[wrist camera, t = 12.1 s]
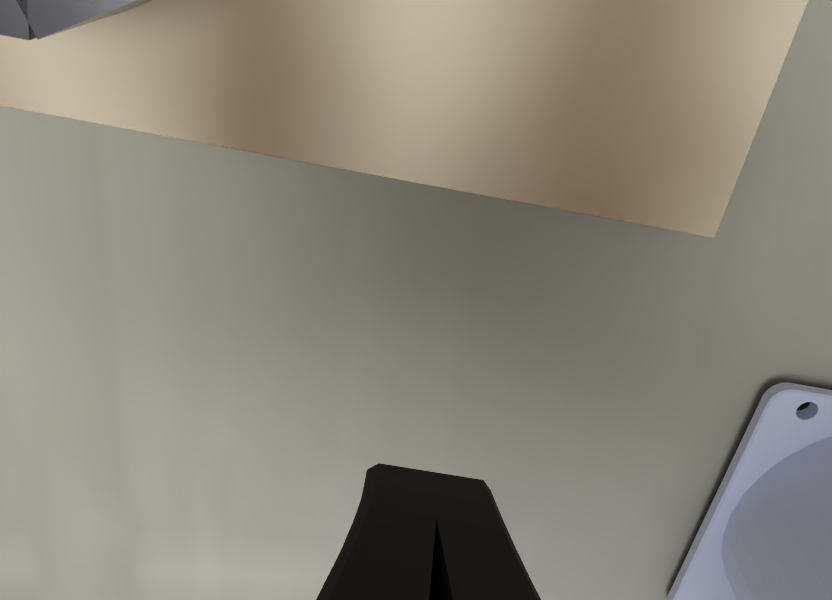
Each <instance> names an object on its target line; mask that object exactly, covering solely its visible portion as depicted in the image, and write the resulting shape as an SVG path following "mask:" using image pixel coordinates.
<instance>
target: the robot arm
mask: <svg viewBox="0 0 832 600" xmlns="http://www.w3.org/2000/svg"><path fill="white" fill-rule="evenodd" d="M805 402H811V403H810V404H809V406H808V407H807V408H805V409H803V410H797V408H798V407H799V406H800V405H801V404H803V403H805ZM316 600H541V599H540V597H539V595H538V593H537V591H536V589H535V587H534V585H533V583H532V581H531V579H530V577H529V575H528V573H527V571H526V569H525V567H524V565H523V563H522V561H521V558H520V556H519V554H518V552H517V550H516V548H515V546H514V544H513V541H512V539H511V537H510V535H509V533H508V530H507V528H506V526H505V524H504V521H503V519H502V517H501V514H500V512H499V510H498V507H497V505H496V503H495V500H494V498H493V495H492V493H491V490H490V489H489V487H488V486H487V485H486V483H485V482H484V480H479V479H472V478H466V477H460V476H454V475H447V474H441V473H435V472H429V471H423V470H416V469H410V468H404V467H398V466H391V465H385V464H377V465H375V466H373V467H371V468H370V469H368V470H367V473H366V478H365V483H364V488H363V493H362V498H361V501H360V504H359V507H358V510H357V513H356V516H355V518H354V521H353V524H352V526H351V528H350V531H349V533H348V535H347V538H346V540H345V542H344V545H343V547H342V549H341V552H340V554H339V556H338V558H337V560H336V562H335V564H334V566H333V567H332V569H331V571H330V573H329V575H328V577H327V579H326V581H325V583H324V585H323V587H322V589H321V591H320V593H319V595H318V597H317V599H316ZM667 600H832V390H829V389H823V388H817V387H811V386H806V385H800V384H794V383H779V384H776V385H773V386H772V387H771V388H769V389H768V390H767V391H766V392H765V393H764V395H763V396H762V398H761V400H760V402H759V404H758V406H757V409H756V411H755V413H754V415H753V417H752V419H751V421H750V423H749V425H748V428H747V430H746V432H745V434H744V436H743V438H742V440H741V442H740V444H739V447H738V449H737V451H736V453H735V455H734V457H733V459H732V461H731V463H730V466H729V468H728V470H727V472H726V474H725V476H724V478H723V480H722V482H721V485H720V487H719V489H718V491H717V493H716V495H715V497H714V499H713V501H712V504H711V506H710V508H709V510H708V512H707V514H706V516H705V518H704V520H703V523H702V525H701V527H700V529H699V531H698V533H697V535H696V537H695V539H694V542H693V544H692V546H691V548H690V550H689V552H688V554H687V556H686V558H685V560H684V563H683V565H682V567H681V569H680V571H679V573H678V575H677V577H676V579H675V582H674V584H673V586H672V588H671V590H670V592H669V594H668V598H667Z"/></svg>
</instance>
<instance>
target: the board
mask: <svg viewBox="0 0 832 600" xmlns="http://www.w3.org/2000/svg"><path fill="white" fill-rule="evenodd" d="M807 2H808V0H152V1H150V2H147V3H145V4H142V5H140V6H137V7H135V8H132V9H130V10H127V11H125V12H122V13H119V14H116V15H113V16H110V17H106V18H103V19H100V20H97V21H94V22H91V23H88V24H85V25H82V26H79V27H75V28H72V29H69V30H66V31H63V32H60V33H57V34H54V35H51V36H48V37H45V38H41V39H37V38H35V39H32V40H25V39H19V38H14V37H9V36H4V35H0V105H1V106H6V107H12V108H17V109H22V110H28V111H33V112H39V113H44V114H49V115H55V116H60V117H65V118H71V119H76V120H82V121H87V122H92V123H98V124H103V125H108V126H114V127H119V128H125V129H130V130H135V131H141V132H146V133H151V134H157V135H162V136H168V137H173V138H178V139H184V140H189V141H194V142H200V143H205V144H211V145H216V146H221V147H227V148H232V149H237V150H243V151H248V152H254V153H259V154H264V155H270V156H275V157H280V158H286V159H291V160H297V161H302V162H307V163H313V164H318V165H323V166H329V167H334V168H340V169H345V170H350V171H356V172H361V173H366V174H372V175H377V176H382V177H388V178H393V179H399V180H404V181H409V182H415V183H420V184H425V185H431V186H436V187H442V188H447V189H452V190H458V191H463V192H468V193H474V194H479V195H485V196H490V197H495V198H501V199H506V200H511V201H517V202H522V203H528V204H533V205H538V206H544V207H549V208H554V209H560V210H565V211H571V212H576V213H581V214H587V215H592V216H597V217H603V218H608V219H614V220H619V221H624V222H630V223H635V224H640V225H646V226H651V227H657V228H662V229H667V230H673V231H678V232H683V233H689V234H694V235H700V236H705V237H710V238H715V235H716V233H717V230H718V228H719V225H720V223H721V220H722V218H723V215H724V213H725V210H726V208H727V205H728V203H729V200H730V197H731V195H732V192H733V190H734V187H735V185H736V182H737V180H738V177H739V175H740V172H741V170H742V167H743V165H744V162H745V159H746V157H747V154H748V152H749V149H750V147H751V144H752V142H753V139H754V137H755V134H756V132H757V129H758V127H759V124H760V121H761V119H762V116H763V114H764V111H765V109H766V106H767V104H768V101H769V99H770V96H771V94H772V91H773V89H774V86H775V83H776V81H777V78H778V76H779V73H780V71H781V68H782V66H783V63H784V61H785V58H786V56H787V53H788V51H789V48H790V45H791V43H792V40H793V38H794V35H795V33H796V30H797V28H798V25H799V23H800V20H801V18H802V15H803V13H804V10H805V7H806V5H807Z"/></svg>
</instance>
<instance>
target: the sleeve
mask: <svg viewBox="0 0 832 600" xmlns="http://www.w3.org/2000/svg"><path fill="white" fill-rule="evenodd" d="M150 1H152V0H0V35H4V36H9V37H14V38H19V39H25V40H32V39H35V38H37V39H41V38H45V37H48V36H51V35H54V34H57V33H60V32H63V31H66V30H69V29H72V28H75V27H79V26H82V25H85V24H88V23H91V22H94V21H97V20H100V19H103V18H106V17H110V16H113V15H116V14H119V13H122V12H125V11H127V10H130V9H132V8H135V7H137V6H140V5H142V4H145V3H147V2H150Z"/></svg>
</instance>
